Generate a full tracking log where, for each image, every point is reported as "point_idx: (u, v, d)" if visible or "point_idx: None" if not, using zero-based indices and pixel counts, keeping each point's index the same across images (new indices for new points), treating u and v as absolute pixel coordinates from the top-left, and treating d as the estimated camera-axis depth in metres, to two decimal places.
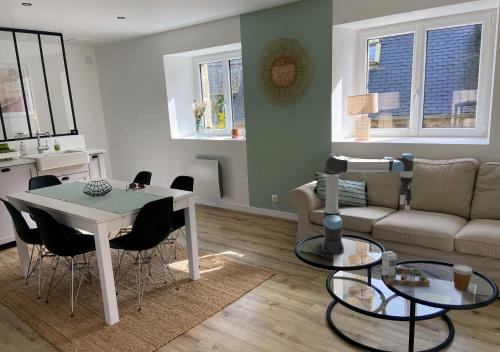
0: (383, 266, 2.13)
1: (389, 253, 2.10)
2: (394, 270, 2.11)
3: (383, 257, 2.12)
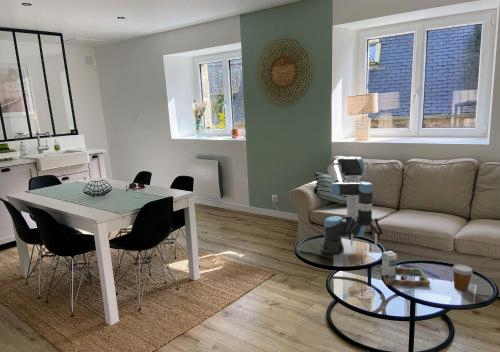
0: (383, 266, 2.13)
1: (389, 253, 2.10)
2: (394, 270, 2.11)
3: (383, 257, 2.12)
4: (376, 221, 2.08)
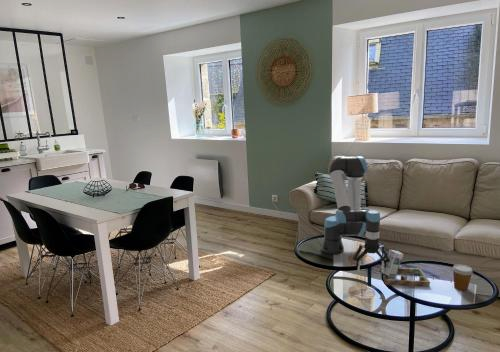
0: (386, 263, 2.14)
1: (396, 251, 2.12)
2: (396, 269, 2.11)
3: (389, 254, 2.13)
4: (383, 249, 2.10)
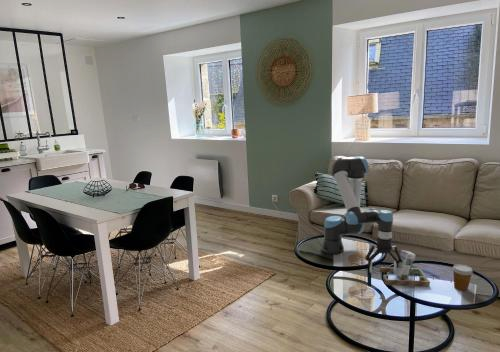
0: (398, 264, 2.12)
1: (408, 252, 2.11)
2: (408, 270, 2.10)
3: (401, 254, 2.12)
4: (396, 249, 2.09)
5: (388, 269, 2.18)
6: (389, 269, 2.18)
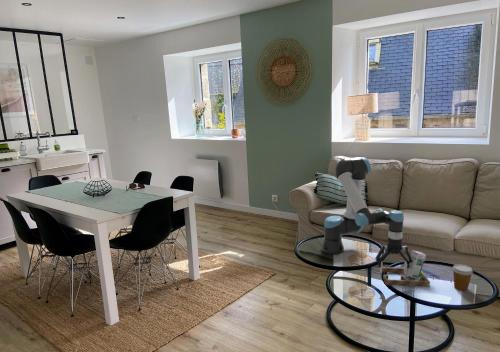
0: (409, 264, 2.12)
1: (419, 252, 2.10)
2: (419, 270, 2.09)
3: (412, 255, 2.11)
4: (406, 249, 2.08)
5: (388, 269, 2.18)
6: (389, 269, 2.18)
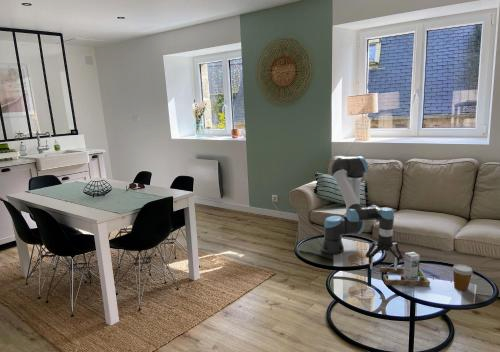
0: (405, 267, 2.12)
1: (412, 254, 2.09)
2: (417, 271, 2.09)
3: (406, 257, 2.10)
4: (396, 246, 2.09)
5: (388, 269, 2.18)
6: (389, 269, 2.18)
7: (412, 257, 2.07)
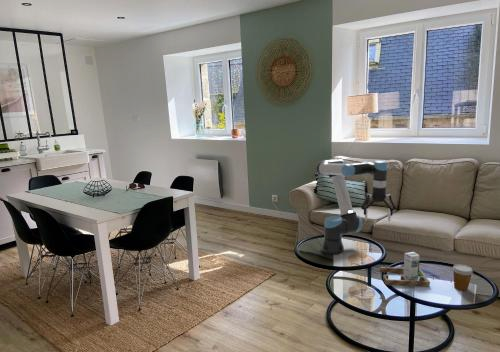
0: (405, 267, 2.12)
1: (411, 254, 2.09)
2: (416, 271, 2.09)
3: (406, 258, 2.10)
4: (390, 197, 2.21)
5: (388, 269, 2.18)
6: (389, 269, 2.18)
7: (412, 257, 2.07)
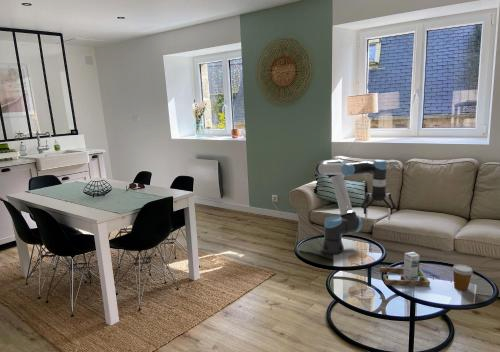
0: (405, 267, 2.12)
1: (411, 254, 2.09)
2: (416, 271, 2.09)
3: (406, 258, 2.10)
4: (389, 196, 2.21)
5: (388, 269, 2.18)
6: (389, 269, 2.18)
7: (412, 257, 2.07)
